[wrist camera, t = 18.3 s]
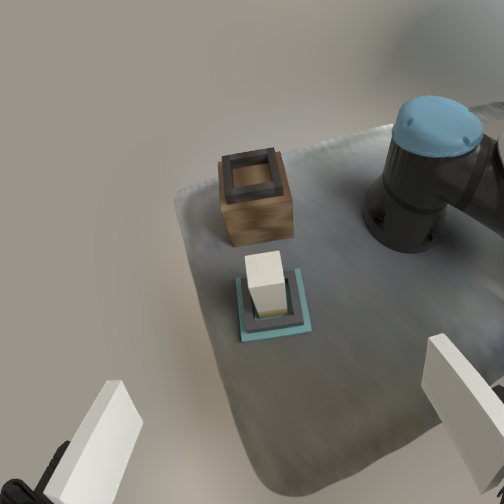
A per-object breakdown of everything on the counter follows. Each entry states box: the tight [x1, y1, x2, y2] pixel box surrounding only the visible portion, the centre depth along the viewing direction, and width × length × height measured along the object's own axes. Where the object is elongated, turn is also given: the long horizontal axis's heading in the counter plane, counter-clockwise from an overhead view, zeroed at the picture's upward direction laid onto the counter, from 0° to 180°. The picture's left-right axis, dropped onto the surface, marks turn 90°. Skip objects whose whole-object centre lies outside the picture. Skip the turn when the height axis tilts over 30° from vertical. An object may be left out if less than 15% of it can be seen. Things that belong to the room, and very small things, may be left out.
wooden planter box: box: [218, 147, 294, 247], centre depth 49 cm, size 10×10×12 cm
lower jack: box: [235, 268, 312, 343], centre depth 45 cm, size 10×10×3 cm
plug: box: [245, 251, 288, 319], centre depth 40 cm, size 4×4×12 cm
